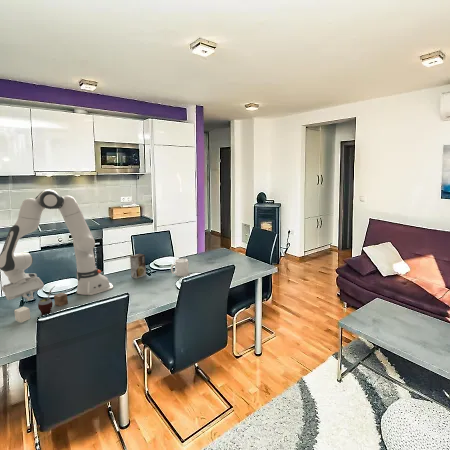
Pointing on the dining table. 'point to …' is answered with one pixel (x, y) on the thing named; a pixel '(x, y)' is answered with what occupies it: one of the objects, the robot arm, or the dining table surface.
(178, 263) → the mug
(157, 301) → the dining table surface
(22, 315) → the off-white block
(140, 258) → the coffee box
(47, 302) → the mate gourd
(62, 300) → the walnut block
